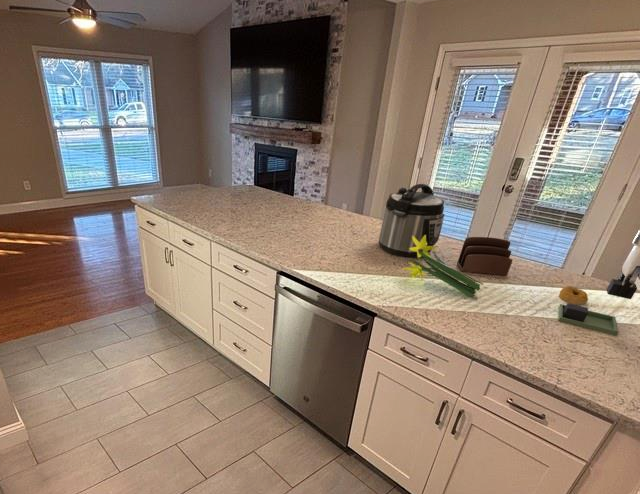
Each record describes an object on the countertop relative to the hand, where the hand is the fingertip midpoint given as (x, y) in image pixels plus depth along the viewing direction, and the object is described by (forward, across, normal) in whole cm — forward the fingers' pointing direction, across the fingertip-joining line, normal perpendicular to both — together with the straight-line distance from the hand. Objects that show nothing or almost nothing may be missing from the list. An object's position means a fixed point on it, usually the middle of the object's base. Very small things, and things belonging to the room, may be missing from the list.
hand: (619, 293), depth 141 cm
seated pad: (+13, +2, +8) cm, 16 cm away
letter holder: (+14, +35, +44) cm, 58 cm away
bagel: (+14, +22, +8) cm, 27 cm away
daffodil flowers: (+14, +4, +57) cm, 59 cm away
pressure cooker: (+14, +40, +81) cm, 91 cm away
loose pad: (0, 0, 0) cm, 0 cm away
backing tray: (+14, +2, +4) cm, 15 cm away
